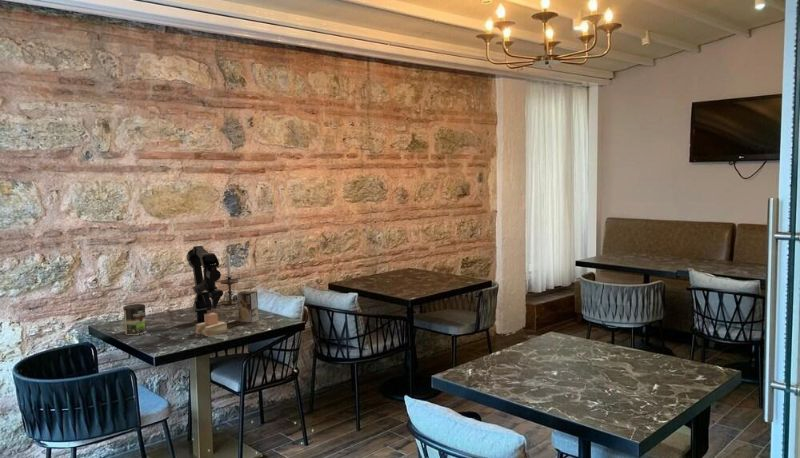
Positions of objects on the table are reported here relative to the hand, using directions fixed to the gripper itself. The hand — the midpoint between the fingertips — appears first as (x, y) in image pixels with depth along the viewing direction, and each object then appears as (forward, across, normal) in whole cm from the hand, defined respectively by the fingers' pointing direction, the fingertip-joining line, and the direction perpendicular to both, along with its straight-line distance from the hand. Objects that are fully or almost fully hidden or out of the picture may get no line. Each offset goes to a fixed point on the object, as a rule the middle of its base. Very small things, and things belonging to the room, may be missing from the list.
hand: (210, 306), depth 303 cm
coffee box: (+12, 0, +21) cm, 24 cm away
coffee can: (+12, -20, -32) cm, 39 cm away
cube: (+7, +8, -3) cm, 11 cm away
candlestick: (+13, -45, +33) cm, 58 cm away
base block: (+12, +8, -4) cm, 15 cm away
